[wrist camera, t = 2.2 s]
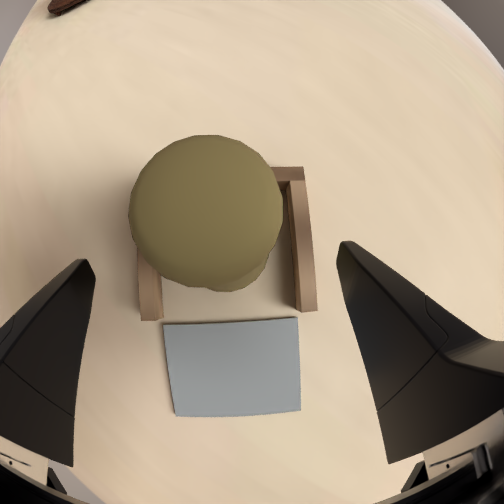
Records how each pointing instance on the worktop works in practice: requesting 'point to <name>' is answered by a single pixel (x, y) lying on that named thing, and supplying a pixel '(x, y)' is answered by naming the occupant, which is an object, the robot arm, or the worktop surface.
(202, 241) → the cork
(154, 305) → the u-shaped wooden frame
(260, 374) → the pad
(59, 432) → the robot arm
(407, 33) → the worktop surface
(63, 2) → the brown figurine
